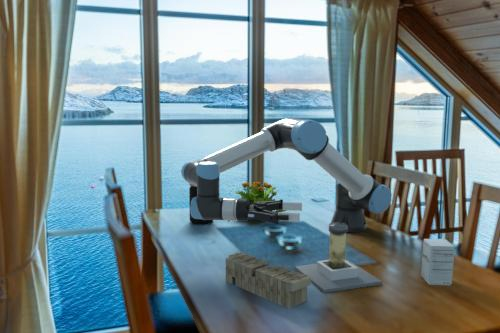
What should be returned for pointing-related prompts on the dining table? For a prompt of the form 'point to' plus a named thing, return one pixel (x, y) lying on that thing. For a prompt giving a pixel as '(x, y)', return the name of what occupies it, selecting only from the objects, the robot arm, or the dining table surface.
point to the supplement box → (437, 261)
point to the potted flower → (258, 193)
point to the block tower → (267, 280)
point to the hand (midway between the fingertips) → (300, 211)
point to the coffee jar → (191, 195)
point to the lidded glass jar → (337, 245)
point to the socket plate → (337, 276)
